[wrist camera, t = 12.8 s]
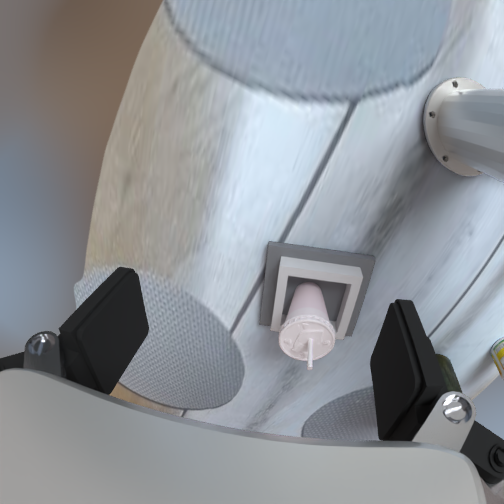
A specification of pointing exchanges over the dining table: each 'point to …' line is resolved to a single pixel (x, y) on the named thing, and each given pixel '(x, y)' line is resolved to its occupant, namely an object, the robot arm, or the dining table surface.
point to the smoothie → (307, 326)
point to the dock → (321, 273)
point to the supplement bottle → (499, 355)
